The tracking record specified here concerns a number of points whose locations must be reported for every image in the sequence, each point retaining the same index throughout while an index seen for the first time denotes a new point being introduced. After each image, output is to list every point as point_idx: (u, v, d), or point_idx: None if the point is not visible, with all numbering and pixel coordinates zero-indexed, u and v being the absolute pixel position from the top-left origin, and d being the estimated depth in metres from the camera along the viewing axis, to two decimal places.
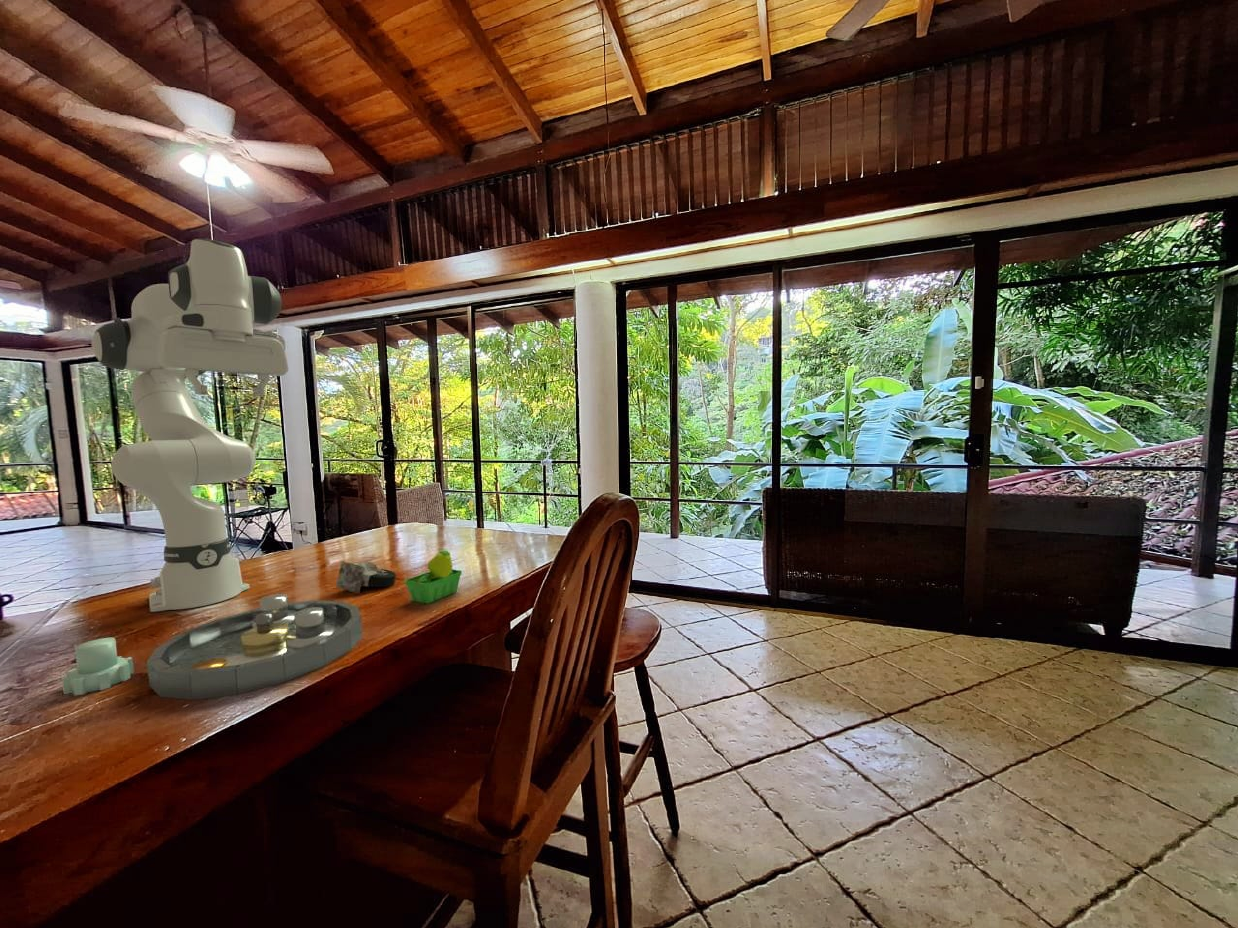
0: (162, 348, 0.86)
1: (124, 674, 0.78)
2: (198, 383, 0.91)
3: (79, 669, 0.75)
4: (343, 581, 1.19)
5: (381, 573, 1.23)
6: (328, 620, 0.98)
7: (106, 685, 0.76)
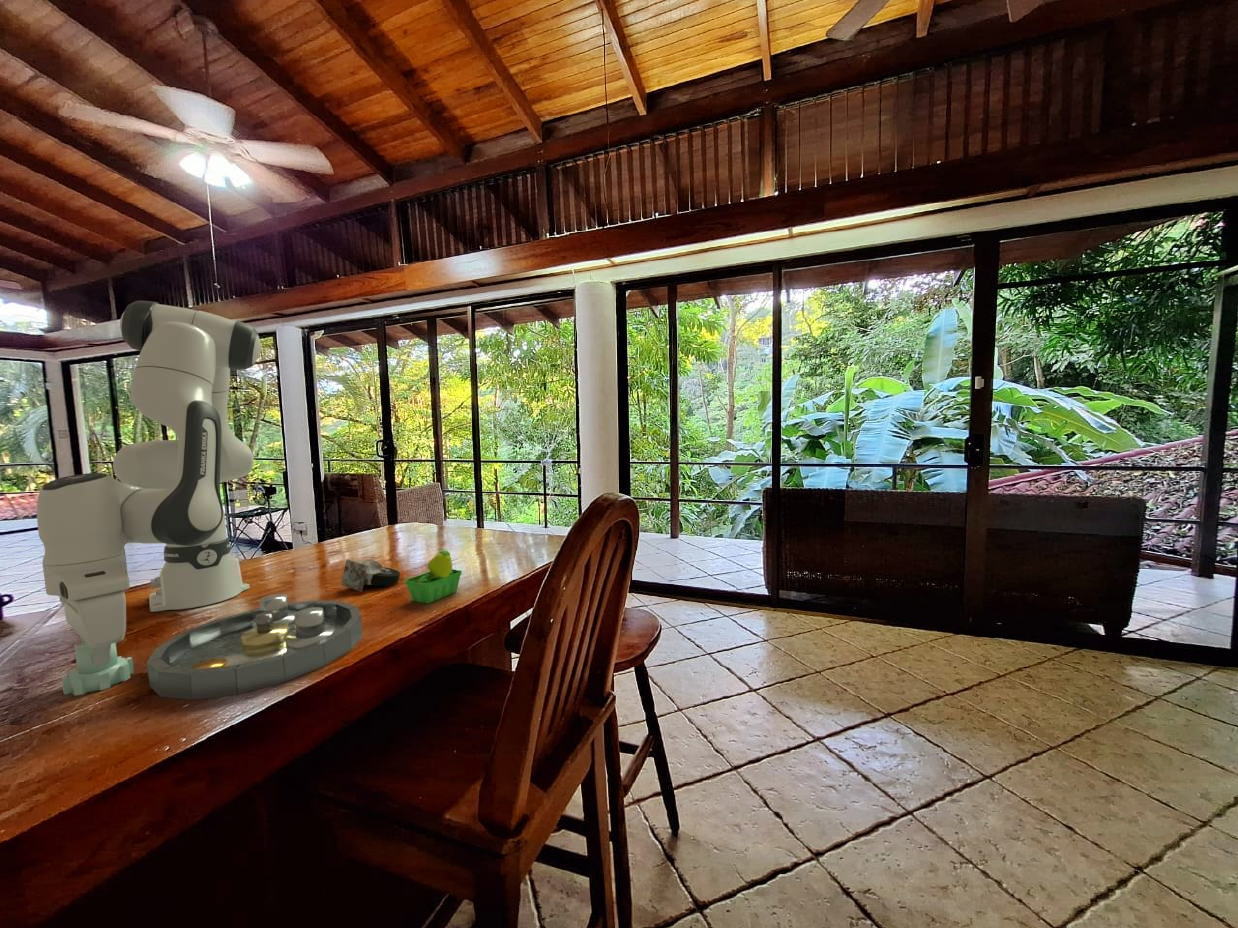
0: (114, 621, 0.72)
1: (124, 674, 0.78)
2: None
3: (79, 669, 0.75)
4: (347, 579, 1.20)
5: (385, 572, 1.24)
6: (328, 620, 0.98)
7: (106, 685, 0.76)
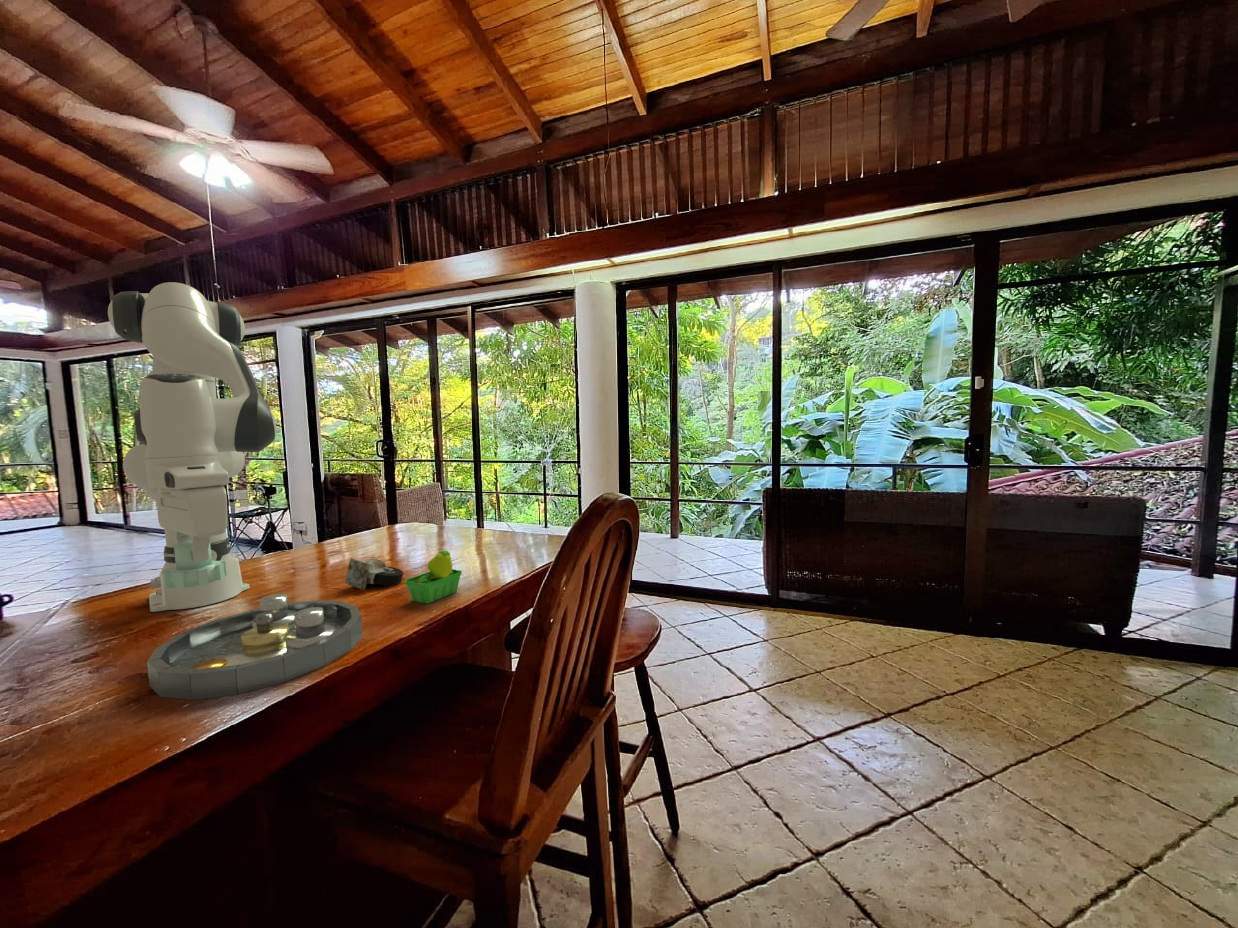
0: (217, 513, 0.73)
1: (220, 573, 0.78)
2: None
3: (178, 565, 0.76)
4: (351, 578, 1.21)
5: (388, 571, 1.24)
6: (328, 620, 0.98)
7: (205, 581, 0.76)
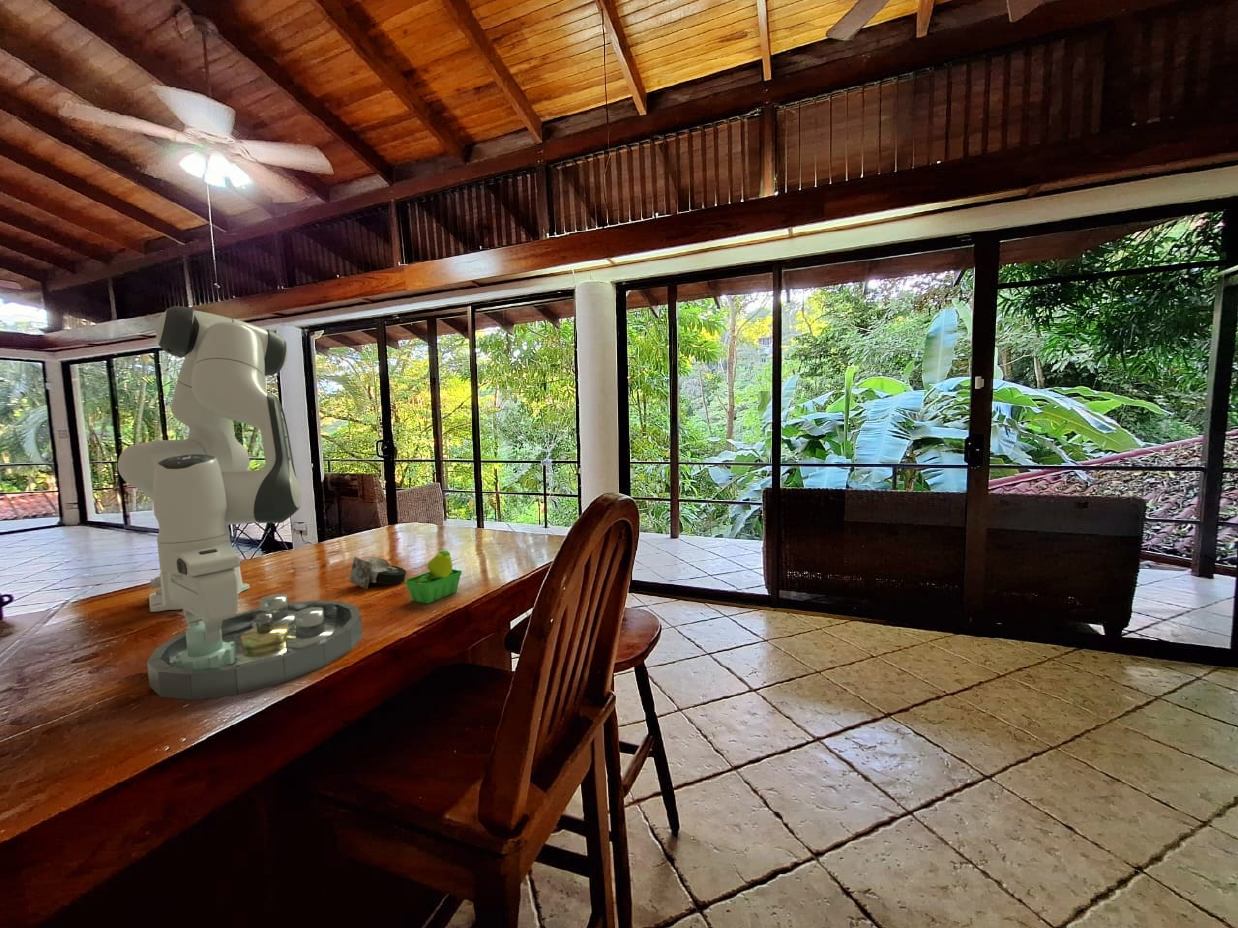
0: (228, 597, 0.74)
1: (230, 657, 0.80)
2: None
3: (190, 652, 0.77)
4: (355, 576, 1.23)
5: (391, 570, 1.25)
6: (328, 620, 0.98)
7: None
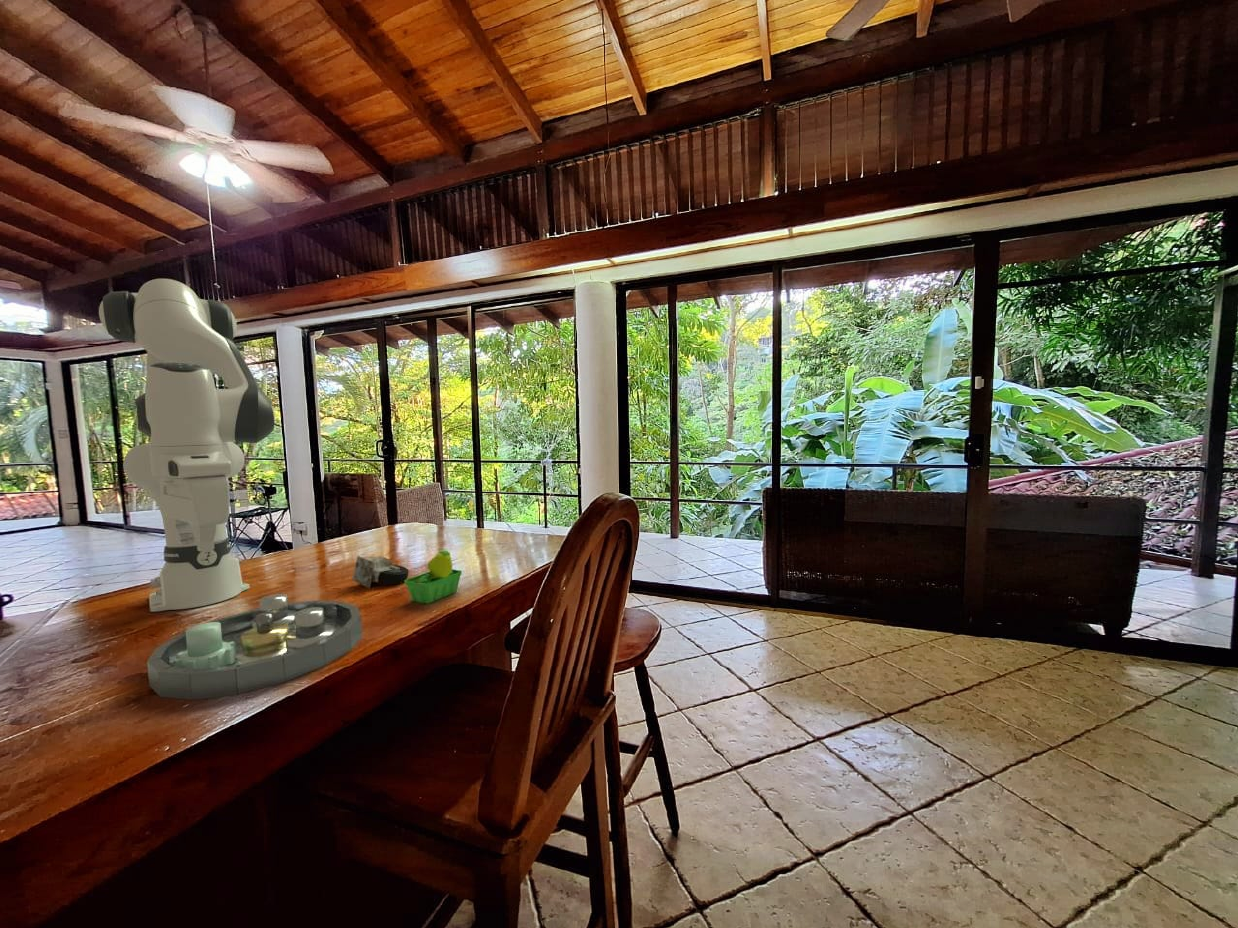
0: (220, 502, 0.73)
1: (230, 657, 0.80)
2: None
3: (190, 652, 0.77)
4: (358, 575, 1.23)
5: (393, 570, 1.25)
6: (328, 620, 0.98)
7: None
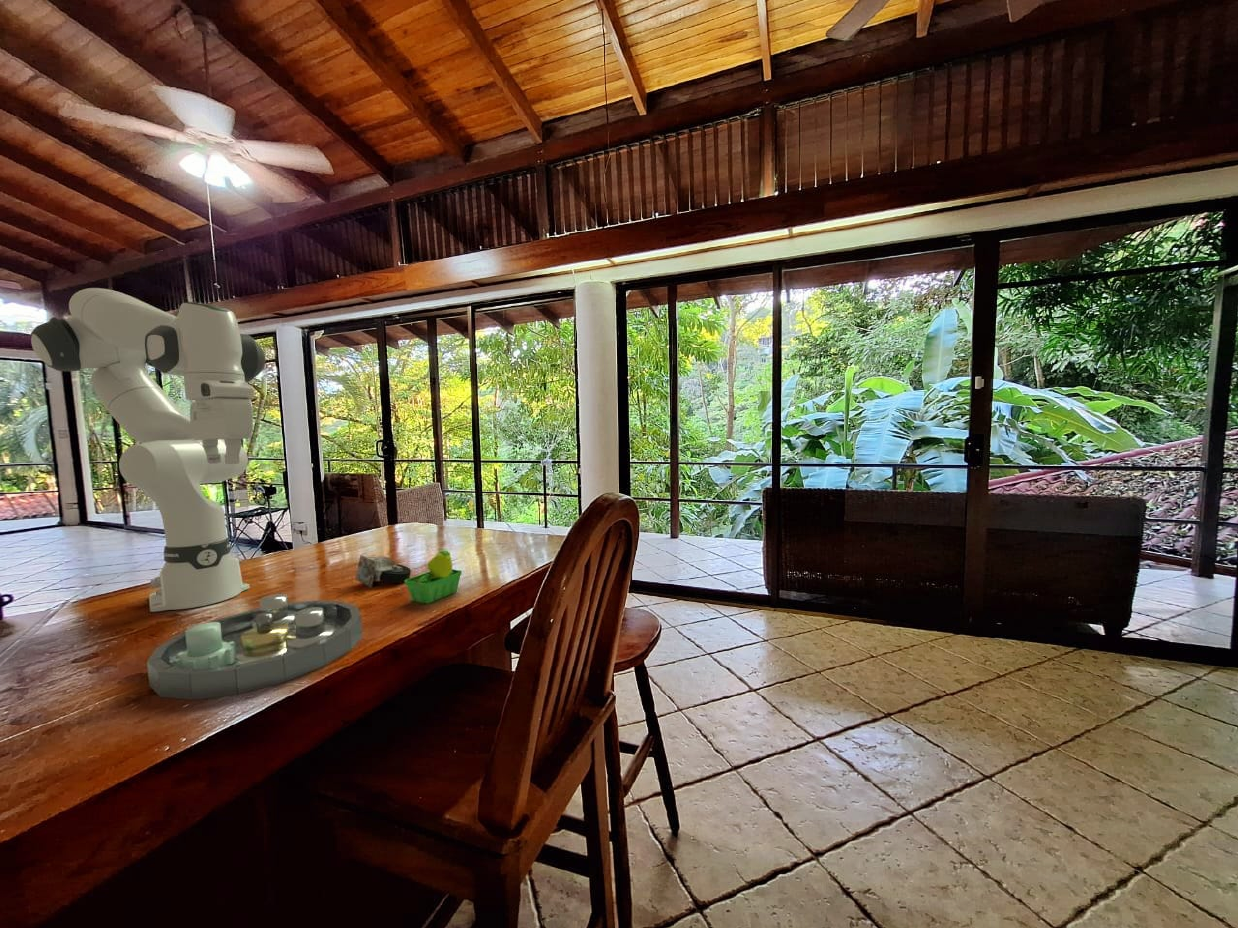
0: (245, 419, 0.86)
1: (230, 657, 0.80)
2: None
3: (190, 652, 0.77)
4: (360, 574, 1.24)
5: (395, 569, 1.26)
6: (328, 620, 0.98)
7: None
